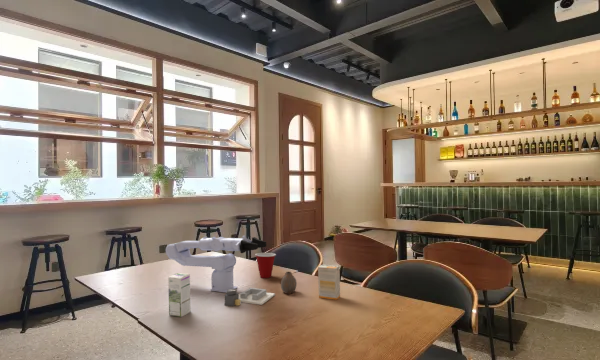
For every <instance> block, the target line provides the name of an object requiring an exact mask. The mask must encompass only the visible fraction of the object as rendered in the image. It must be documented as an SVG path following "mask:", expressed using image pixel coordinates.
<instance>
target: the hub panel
mask: <svg viewBox="0 0 600 360" xmlns="http://www.w3.org/2000/svg"><path fill="white" fill-rule="evenodd" d="M275 296H276V293H275V292H274V293H273V292H267V289H265V288H256V287H248V288H247V289H245V290H244V291H242V292H239V299H240V303H246V304H253V305H260V306H263V305H264V304H265V303H266V302H268V301H269V300H270V299H272V298H273V297H275Z"/></svg>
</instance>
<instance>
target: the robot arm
mask: <svg viewBox="0 0 600 360" xmlns="http://www.w3.org/2000/svg"><path fill="white" fill-rule="evenodd" d="M266 247H267V241H264V240H261V239H259V238H257V237H255V236H253V237H251V239H249V238H247V236H246V235H242V236H241V237H239V238H238V237H236V238H235V237H224V236H219V237H216V236H212V237H208V236H203V237H202V238H200V239H199V240H183V241H179V242H176V243H169V244H167V246H166V247H165V254H166V256H167V258H168V259H169V260H173V261H175V262H176V263H178V264H179V265H181V266H183V267H185V266H186V267H204V268H211V269H212V270H213V271H212V272H211V279H210V280H211V289H210V291H213V292H220V293H226V294H227V290H228V289H236V290H237V288H238V286H236V285H235V286H234V268H235V267H234V266H235V265H236V264H237V257H236V256H235V254H233V253H227V254H224V255H223V254H222V255H194V254H193V255H192V253H191V250H190V249H200V251H214V252H219V251H226V252H228V251H231V252H240V253H241V254H244V253H246V252H249V251H255V250H258V249H261V248H266Z"/></svg>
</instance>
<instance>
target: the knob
mask: <svg viewBox="0 0 600 360" xmlns="http://www.w3.org/2000/svg"><path fill="white" fill-rule="evenodd" d="M239 294H240V292H237V288H236V289H228V290H227V293H226V294H225V295H224V306H226V307H227V306H228V307H229V306H230V307H235V306H237V307H238V306H240V305H241V302H240V299H239Z"/></svg>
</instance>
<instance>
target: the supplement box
mask: <svg viewBox="0 0 600 360" xmlns="http://www.w3.org/2000/svg"><path fill="white" fill-rule="evenodd" d="M317 271H318V272H317V275H318V276H317V278H318V281H317V282H318V298H319V299H327V300H328V299H329V300H335V301H337V300H339V299H340V298H341V277H340V273H341V272H340V265H331V264H321V265H319V266H318V267H317Z"/></svg>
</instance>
